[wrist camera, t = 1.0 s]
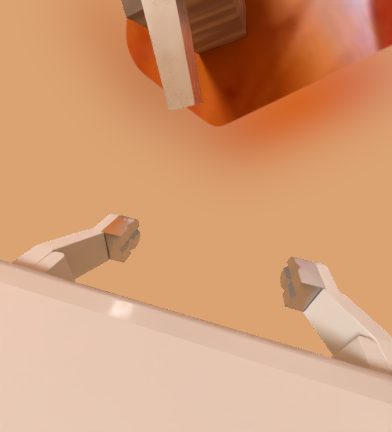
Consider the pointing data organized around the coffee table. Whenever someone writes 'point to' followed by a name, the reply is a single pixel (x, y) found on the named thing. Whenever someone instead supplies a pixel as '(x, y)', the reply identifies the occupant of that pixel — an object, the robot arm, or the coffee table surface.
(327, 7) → the coffee table surface
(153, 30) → the wooden bar
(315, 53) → the coffee table surface
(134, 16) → the wavy grain block
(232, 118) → the coffee table surface
